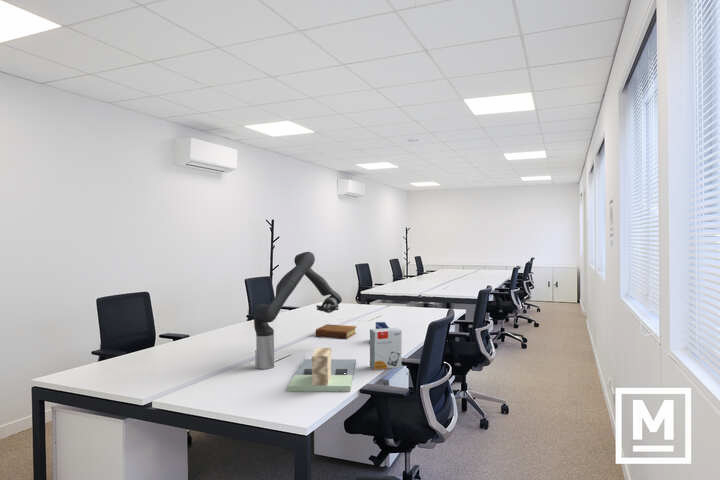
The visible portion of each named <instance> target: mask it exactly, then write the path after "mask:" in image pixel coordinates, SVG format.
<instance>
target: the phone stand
mask: <svg viewBox="0 0 720 480" xmlns="http://www.w3.org/2000/svg"><path fill="white" fill-rule="evenodd" d="M382 328H390V327H389V326H388V325H387V323H386V322H385V321H376V322H375V329H382Z"/></svg>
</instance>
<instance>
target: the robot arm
mask: <svg viewBox="0 0 720 480" xmlns="http://www.w3.org/2000/svg"><path fill="white" fill-rule="evenodd" d="M315 259H316V258H315V255H314V253H312V252H311V251H305V252H301V253H298V254H296V255H295V257H294V260H293V261H294V264H295V266H294V267H293V268H292V269H291V270H289V271H288V272H286V274H284V276H282V278H281V279H280V280H279V282H277V285H276V286H275V287H276V288H275V296H274V298H273V299H272V301H271V302H270V303H269V304H265V303H264V304H263V303H260V304H257V305H256V306H255V308H254V310H253V323H254V324H253V325H254V326H253V328H254V332H255V341H256V342H255V343H256V344H255V347H256V349H255V351H254V352H255V354H254V356H255V357H254V358H255V360H254V361H255V367H254V368H255V369H259V370H268V369H273V368H274V367H275V336H274V335H275V330H274V328H273V327H271V326H270V325H269V323H272V322H274V320H276V318H277V317H278V315H279V313H280V311H281V310H282V308H283V306H284V305H285V303H286V302H287V300H288V299H289V297H290V296H291V295H292V293H293V292H294V290H295V289H296V288H297V286H298V284H299V283H300V282H301V280H302V279H303V277H304V276H306V278H307V279H308V281H310V282H311V283H312V284H313V285H314V286H315V288H316V289H317V291H318V292H319V294H320V295H321V296H322V297H326V296H328V297H326V298H325V299H324V300H323V302H322V304H320V305H318V304H317V305H316V311H320V312H324V313H327V314H331V313H333V312H334V311H339V308H340V307H339V304H341V303H342V301H343V299H342V296H341V295H340V294H339V293H337V292H336V291H335V290H334V289H333V288H332V287H331V285H329V284H328V282H327V280H326V279H325V278H324V277H323V276H321V275H320V274H318V273H317V272H315V271H314V270H313V269H312V267H313V266H314V264H315V262H316V260H315Z"/></svg>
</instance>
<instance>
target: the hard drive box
mask: <svg viewBox="0 0 720 480" xmlns="http://www.w3.org/2000/svg"><path fill="white" fill-rule="evenodd" d="M402 333H403V332H402V329H400V328H398V327H389V328H382V329H376V328H371V329H369V367H370V368H371V367H372V368H373V369H374V371H375V370H376V371H377V370H378V369H382V370H389V369H401V368H402V350H403V349H402V348H403V347H402V344H403V343H402V340H403V339H402V335H403V334H402ZM372 368H371V369H372Z"/></svg>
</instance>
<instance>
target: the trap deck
mask: <svg viewBox="0 0 720 480" xmlns="http://www.w3.org/2000/svg"><path fill="white" fill-rule="evenodd" d="M356 365H357V359H356V358H355V359H353V358H351V359H348V358H347V359H346V358H345V359H342V358H340V359H335V358H333V359H332V358H331V377H330V380H329V383H328V385H312V358H311V359H310V358H309V359H308V358H307V359H306V358H305V359H304V360H303V361H302V362H301V365H300V366H299V367H298V369H297V371H296V373H295V374H294V376H293V377H292V379H291V380H290V381H289V384H288V385H287V392H317V391H342V392H343V393H344V392H345V393H346V392H351V391H352V386H353V382H352V381H353V380H354V377H353V376H355V372H354V371H355V370H356V367H355V366H356ZM344 373H346V374H344Z"/></svg>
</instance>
